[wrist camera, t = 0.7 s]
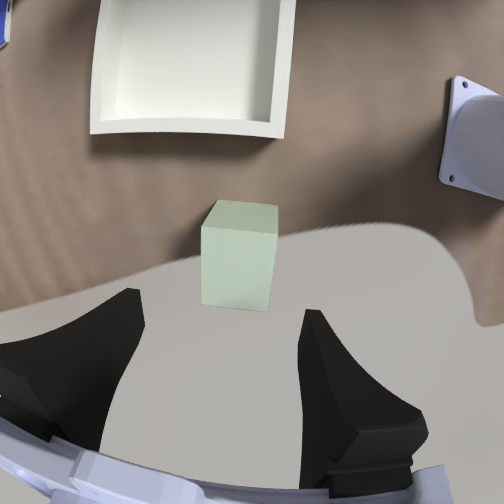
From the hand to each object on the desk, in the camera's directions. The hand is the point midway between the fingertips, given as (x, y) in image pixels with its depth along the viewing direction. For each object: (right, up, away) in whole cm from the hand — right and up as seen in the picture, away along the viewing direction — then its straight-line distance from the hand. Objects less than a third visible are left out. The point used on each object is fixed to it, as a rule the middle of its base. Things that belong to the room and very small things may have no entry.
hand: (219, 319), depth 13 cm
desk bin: (-2, +17, +2) cm, 17 cm away
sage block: (+1, +4, +9) cm, 10 cm away
